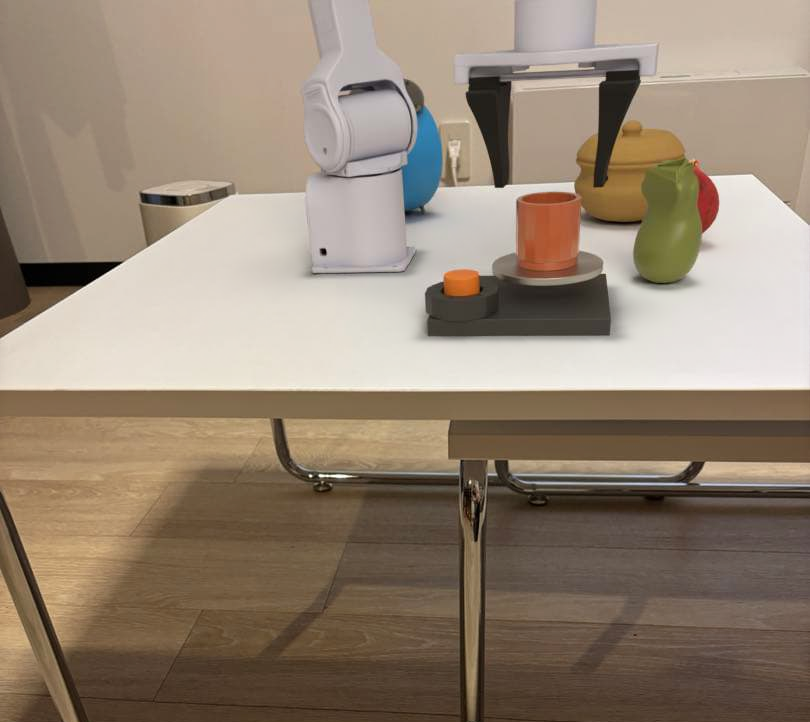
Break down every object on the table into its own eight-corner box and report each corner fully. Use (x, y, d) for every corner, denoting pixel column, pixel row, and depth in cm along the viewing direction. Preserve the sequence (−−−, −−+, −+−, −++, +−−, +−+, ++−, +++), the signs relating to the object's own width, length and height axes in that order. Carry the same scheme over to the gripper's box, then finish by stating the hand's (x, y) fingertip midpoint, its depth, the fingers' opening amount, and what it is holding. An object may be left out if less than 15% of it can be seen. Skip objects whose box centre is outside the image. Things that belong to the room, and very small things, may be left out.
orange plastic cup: (510, 270, 66) (510, 204, 64) (523, 253, 70) (523, 191, 68) (572, 271, 65) (575, 204, 62) (582, 255, 69) (585, 191, 66)
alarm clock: (446, 215, 101) (441, 75, 93) (408, 225, 98) (399, 81, 90) (381, 203, 110) (371, 74, 102) (343, 212, 107) (330, 80, 98)
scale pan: (487, 287, 65) (487, 279, 65) (496, 256, 72) (496, 249, 72) (604, 285, 63) (605, 277, 63) (601, 254, 71) (601, 247, 70)
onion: (716, 253, 79) (728, 163, 75) (654, 254, 81) (663, 166, 76) (710, 238, 84) (721, 153, 80) (651, 239, 85) (659, 155, 81)
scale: (422, 338, 65) (420, 300, 63) (443, 291, 75) (441, 257, 73) (609, 338, 62) (612, 298, 61) (604, 289, 72) (607, 254, 71)
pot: (552, 224, 94) (556, 126, 88) (604, 203, 101) (610, 112, 95) (648, 235, 87) (658, 130, 82) (696, 212, 94) (708, 114, 89)
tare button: (441, 299, 64) (441, 279, 63) (446, 288, 67) (445, 269, 66) (477, 299, 64) (477, 279, 63) (481, 288, 66) (480, 268, 65)
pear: (707, 282, 72) (724, 158, 67) (664, 294, 70) (678, 167, 65) (659, 269, 76) (672, 151, 71) (617, 281, 74) (626, 160, 69)
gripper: (668, -33, 58) (649, 174, 65) (469, -17, 62) (472, 176, 70) (661, -34, 53) (641, 192, 60) (443, -17, 57) (450, 193, 64)
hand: (549, 185), depth 64 cm, fingers open, 7 cm apart
